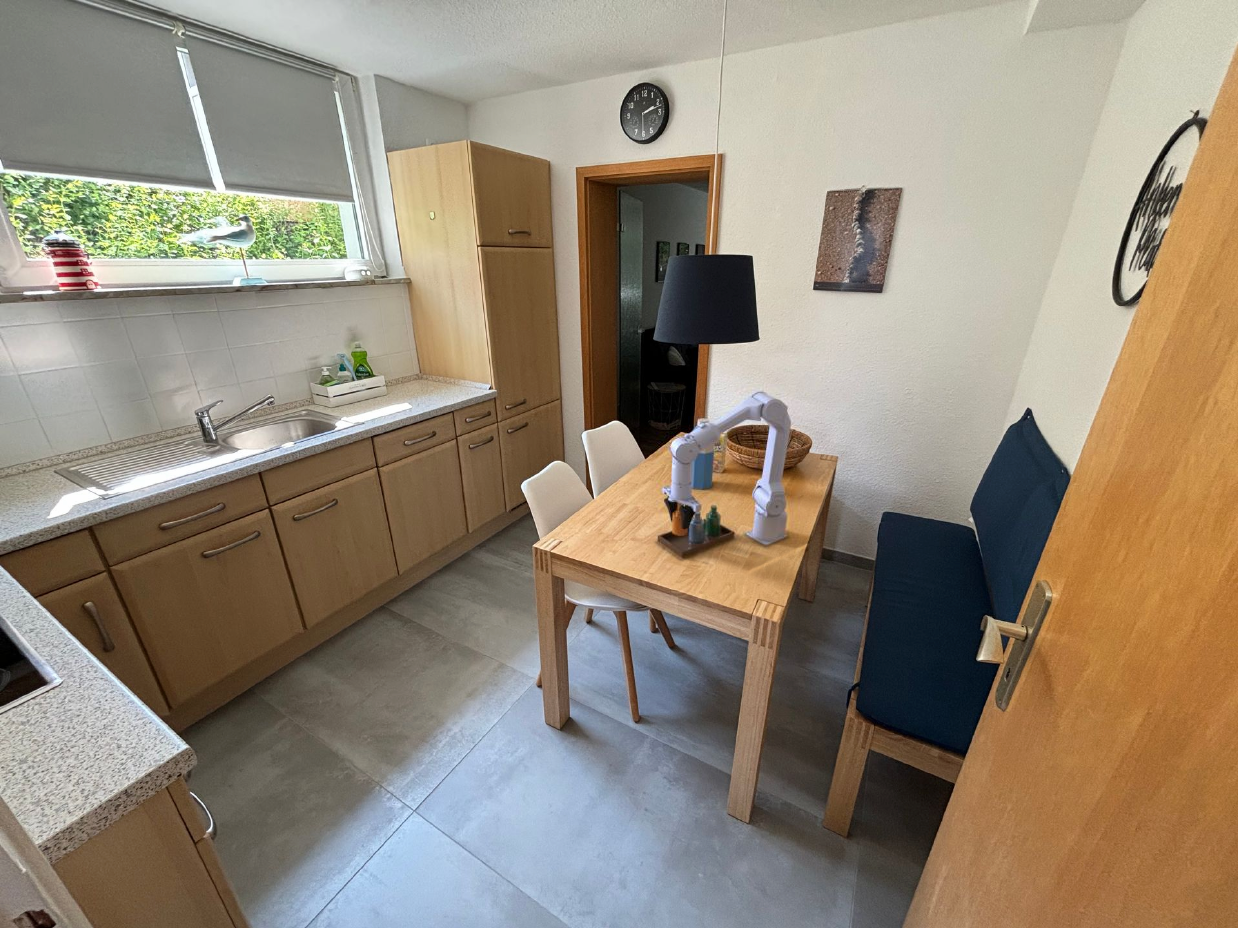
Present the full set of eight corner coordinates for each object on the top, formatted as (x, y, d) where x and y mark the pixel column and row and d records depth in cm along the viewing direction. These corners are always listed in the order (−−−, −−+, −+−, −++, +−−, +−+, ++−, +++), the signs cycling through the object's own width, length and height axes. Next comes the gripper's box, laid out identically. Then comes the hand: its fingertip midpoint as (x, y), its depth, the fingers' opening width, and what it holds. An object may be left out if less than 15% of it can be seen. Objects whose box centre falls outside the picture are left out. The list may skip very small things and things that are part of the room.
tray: (708, 523, 157) (708, 517, 157) (733, 538, 149) (734, 532, 148) (657, 542, 147) (657, 535, 146) (682, 559, 138) (682, 552, 138)
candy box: (700, 469, 199) (702, 433, 194) (703, 465, 203) (705, 430, 197) (721, 473, 195) (724, 436, 190) (724, 469, 199) (727, 433, 193)
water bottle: (695, 477, 192) (698, 414, 183) (717, 483, 186) (721, 419, 177) (682, 485, 185) (685, 420, 176) (704, 491, 180) (708, 425, 170)
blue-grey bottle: (696, 533, 151) (698, 507, 147) (706, 540, 147) (708, 513, 144) (685, 538, 148) (686, 511, 145) (695, 544, 145) (696, 517, 142)
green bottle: (712, 528, 154) (714, 501, 151) (722, 533, 151) (724, 507, 147) (701, 532, 152) (703, 505, 148) (711, 538, 148) (713, 511, 145)
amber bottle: (680, 526, 146) (681, 499, 142) (690, 532, 142) (692, 504, 139) (668, 530, 143) (669, 502, 140) (678, 537, 140) (679, 508, 137)
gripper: (654, 475, 140) (653, 518, 145) (688, 493, 129) (685, 539, 134) (673, 470, 144) (672, 511, 149) (708, 487, 133) (705, 531, 138)
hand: (680, 524), depth 142 cm, fingers closed on amber bottle, 4 cm apart
